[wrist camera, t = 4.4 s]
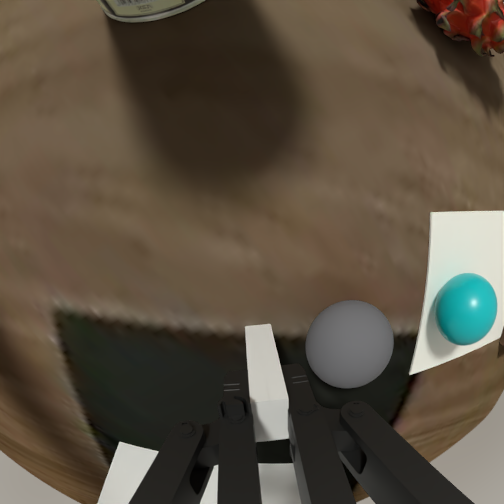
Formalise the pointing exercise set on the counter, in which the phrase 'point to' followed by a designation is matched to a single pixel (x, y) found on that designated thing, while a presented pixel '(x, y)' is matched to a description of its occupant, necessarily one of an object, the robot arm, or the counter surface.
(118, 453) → the white v-notch block
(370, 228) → the counter surface
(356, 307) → the gray ball
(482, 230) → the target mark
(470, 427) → the counter surface
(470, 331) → the teal ball
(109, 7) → the coffee can
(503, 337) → the stopper wall
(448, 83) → the counter surface
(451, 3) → the dragon fruit
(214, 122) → the counter surface
